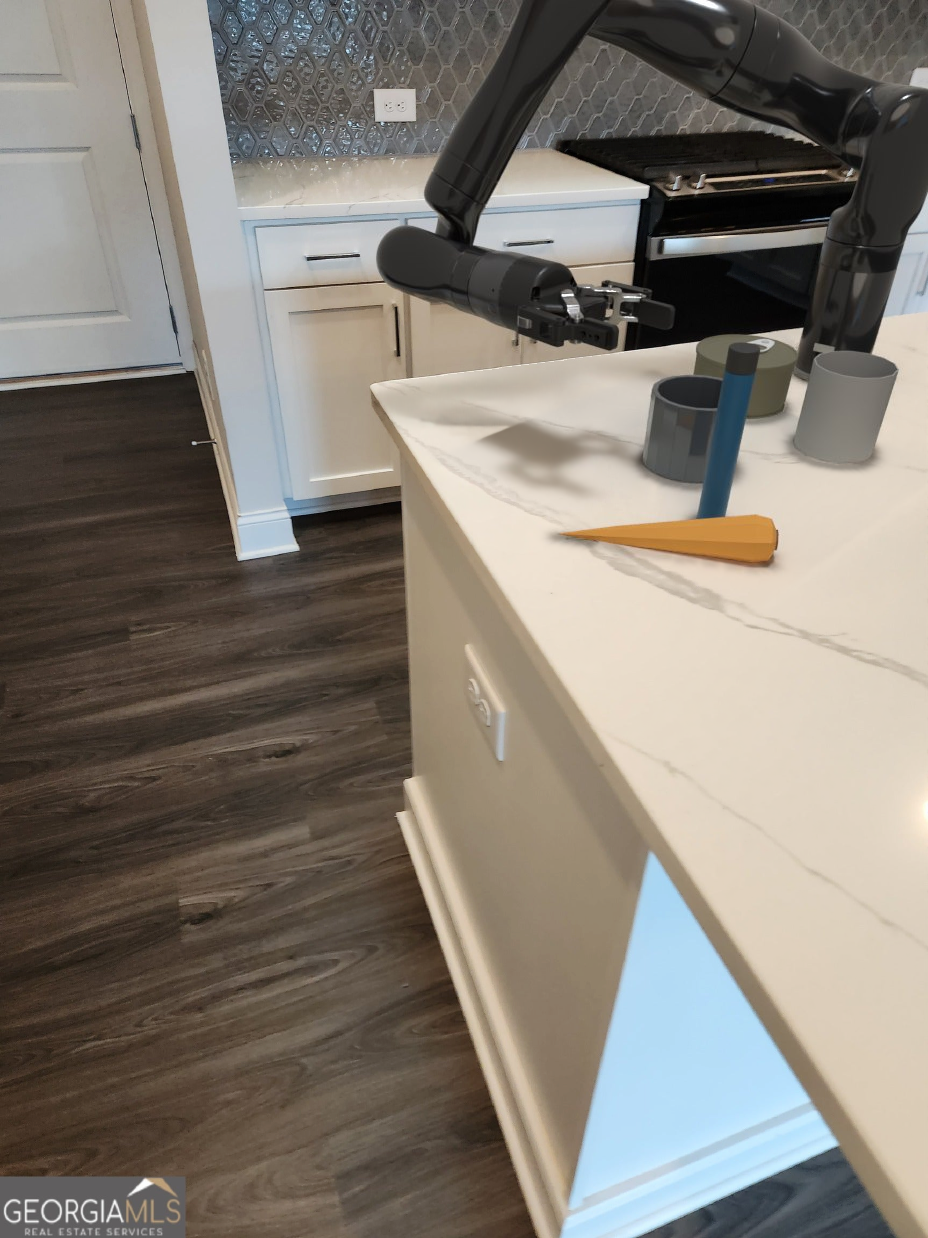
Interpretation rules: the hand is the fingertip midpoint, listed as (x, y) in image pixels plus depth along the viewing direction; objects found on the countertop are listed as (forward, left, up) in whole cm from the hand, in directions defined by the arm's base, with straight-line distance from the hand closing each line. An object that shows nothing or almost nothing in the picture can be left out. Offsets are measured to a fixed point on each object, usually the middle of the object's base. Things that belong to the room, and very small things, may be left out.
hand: (645, 328), depth 78 cm
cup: (-24, +11, -17) cm, 31 cm away
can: (-28, -4, -17) cm, 32 cm away
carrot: (+7, +10, -17) cm, 21 cm away
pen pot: (-8, +2, -17) cm, 19 cm away
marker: (+1, +11, -17) cm, 20 cm away
